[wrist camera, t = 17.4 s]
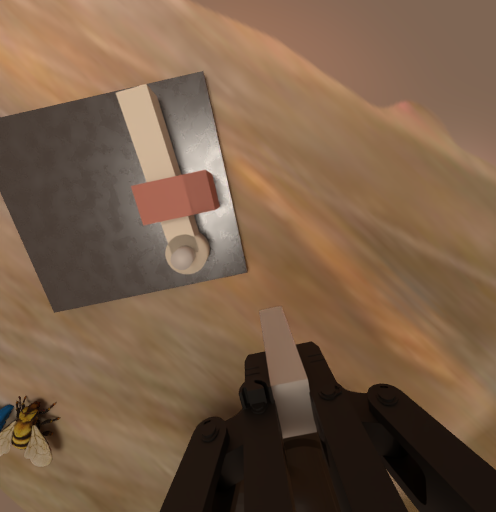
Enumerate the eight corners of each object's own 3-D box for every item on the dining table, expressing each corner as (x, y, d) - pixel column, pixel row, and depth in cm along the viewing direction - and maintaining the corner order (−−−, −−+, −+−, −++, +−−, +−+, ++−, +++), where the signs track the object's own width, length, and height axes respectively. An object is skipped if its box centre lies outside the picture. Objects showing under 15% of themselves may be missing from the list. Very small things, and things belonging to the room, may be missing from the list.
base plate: (247, 269, 43) (247, 272, 41) (60, 308, 44) (54, 312, 42) (204, 76, 36) (203, 71, 34) (-19, 127, 36) (-30, 124, 35)
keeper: (220, 207, 39) (215, 210, 31) (161, 219, 39) (143, 225, 32) (212, 174, 37) (205, 169, 30) (152, 187, 38) (130, 185, 30)
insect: (76, 394, 48) (58, 416, 44) (62, 448, 52) (43, 475, 47) (17, 377, 47) (-9, 398, 42) (6, 434, 50) (-19, 459, 46)
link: (214, 261, 40) (209, 275, 34) (179, 270, 41) (167, 285, 34) (163, 94, 34) (144, 69, 27) (122, 106, 34) (93, 84, 28)
